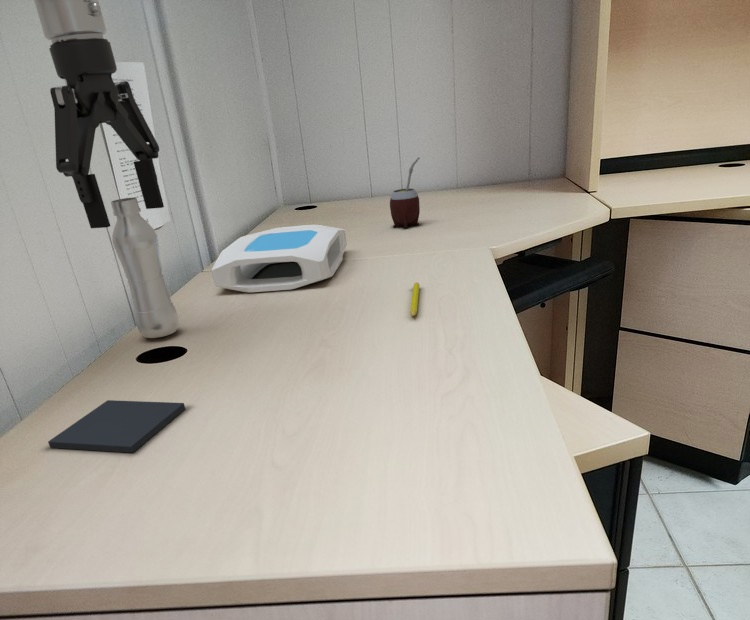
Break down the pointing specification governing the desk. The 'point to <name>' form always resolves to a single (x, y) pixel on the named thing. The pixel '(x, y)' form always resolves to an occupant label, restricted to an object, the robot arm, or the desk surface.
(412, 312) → the pencil
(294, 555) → the desk surface
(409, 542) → the desk surface
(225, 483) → the desk surface
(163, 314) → the plastic bottle
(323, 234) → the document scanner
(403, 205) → the mate gourd
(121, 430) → the coaster
